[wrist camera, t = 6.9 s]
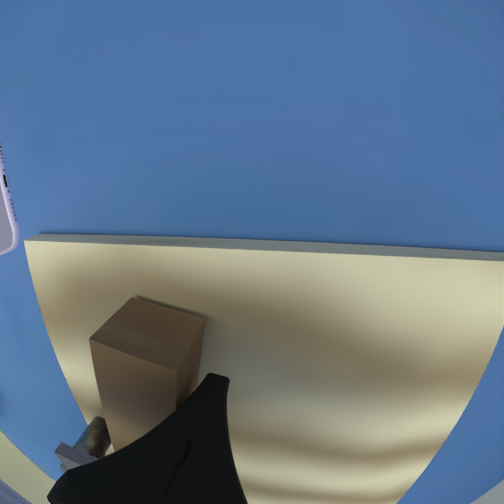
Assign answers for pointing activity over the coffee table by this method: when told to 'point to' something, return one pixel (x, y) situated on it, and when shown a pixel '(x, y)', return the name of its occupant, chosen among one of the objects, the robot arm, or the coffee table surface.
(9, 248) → the mobile phone
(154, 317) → the link
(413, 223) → the coffee table surface
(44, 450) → the coffee table surface
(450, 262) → the base plate
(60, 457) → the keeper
